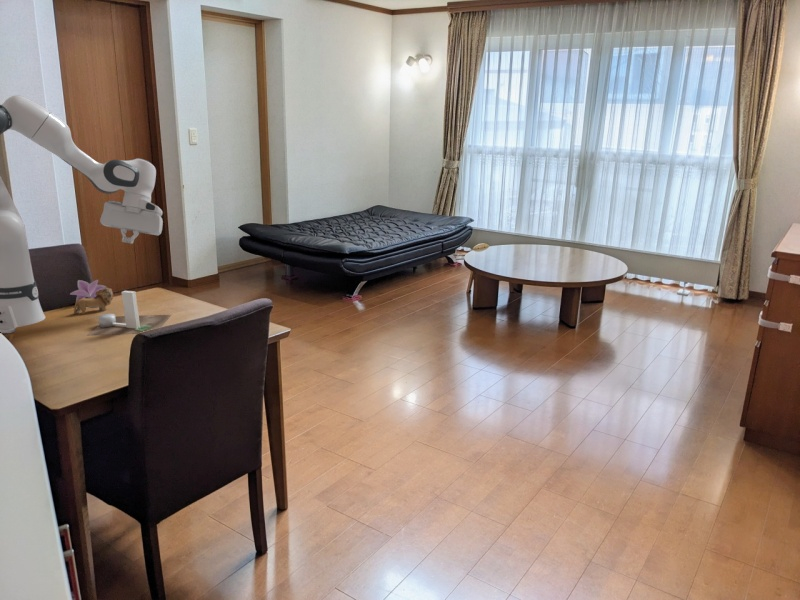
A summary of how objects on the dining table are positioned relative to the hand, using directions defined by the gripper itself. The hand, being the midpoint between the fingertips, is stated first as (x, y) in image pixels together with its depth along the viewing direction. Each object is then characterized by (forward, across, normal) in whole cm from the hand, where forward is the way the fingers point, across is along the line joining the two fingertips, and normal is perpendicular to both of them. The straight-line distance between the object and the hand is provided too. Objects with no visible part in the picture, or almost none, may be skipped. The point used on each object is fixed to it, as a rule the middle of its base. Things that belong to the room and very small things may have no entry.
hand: (127, 242), depth 209 cm
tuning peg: (+29, +7, -11) cm, 32 cm away
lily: (+22, -16, +23) cm, 36 cm away
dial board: (+30, +11, -9) cm, 33 cm away
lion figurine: (+26, -8, +8) cm, 29 cm away
